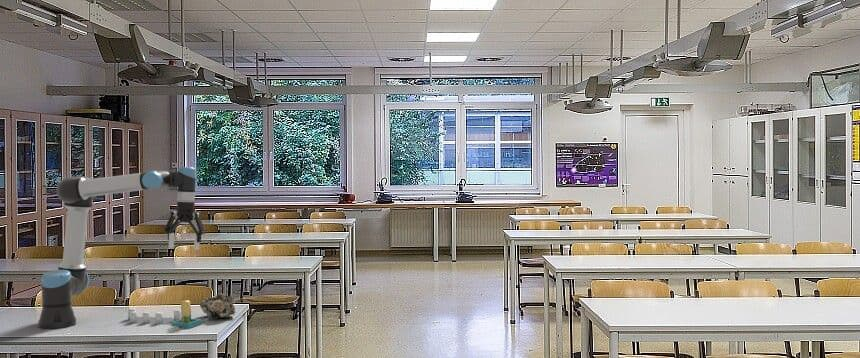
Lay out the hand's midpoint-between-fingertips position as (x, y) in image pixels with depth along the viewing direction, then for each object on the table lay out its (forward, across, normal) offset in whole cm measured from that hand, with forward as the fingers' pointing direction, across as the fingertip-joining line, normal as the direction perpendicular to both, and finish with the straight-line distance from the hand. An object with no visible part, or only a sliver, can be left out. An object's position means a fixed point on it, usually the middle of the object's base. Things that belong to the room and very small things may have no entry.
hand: (183, 248), depth 375 cm
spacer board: (+33, +9, +8) cm, 35 cm away
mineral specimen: (+31, -13, -9) cm, 35 cm away
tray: (+32, -10, +10) cm, 35 cm away
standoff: (+31, -10, +10) cm, 34 cm away
